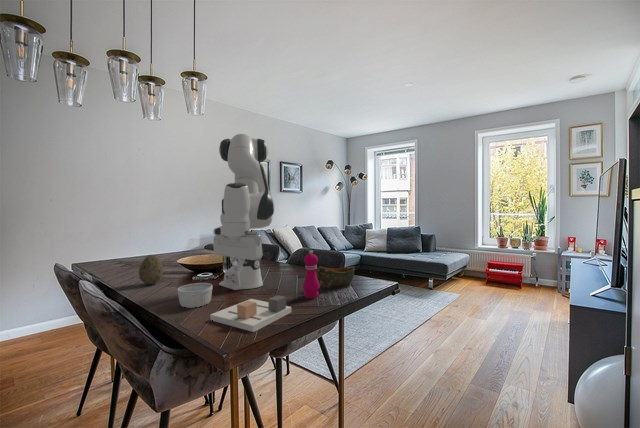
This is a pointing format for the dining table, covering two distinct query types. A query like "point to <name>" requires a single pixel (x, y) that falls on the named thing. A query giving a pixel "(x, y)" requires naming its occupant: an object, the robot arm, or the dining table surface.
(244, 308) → the block
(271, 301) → the block
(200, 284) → the ramekin
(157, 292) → the dining table surface
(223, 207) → the robot arm
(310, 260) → the pepper mill
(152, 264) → the decorative egg
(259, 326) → the fader panel
